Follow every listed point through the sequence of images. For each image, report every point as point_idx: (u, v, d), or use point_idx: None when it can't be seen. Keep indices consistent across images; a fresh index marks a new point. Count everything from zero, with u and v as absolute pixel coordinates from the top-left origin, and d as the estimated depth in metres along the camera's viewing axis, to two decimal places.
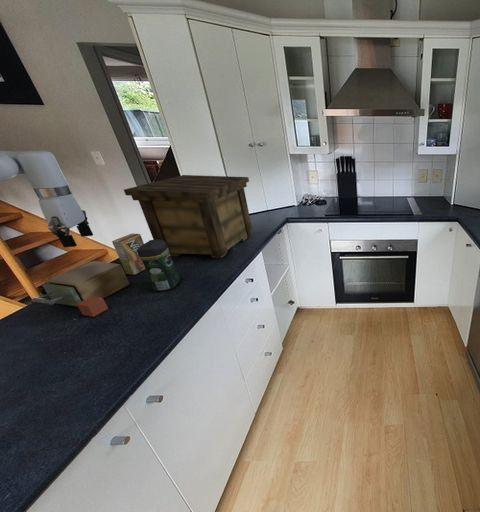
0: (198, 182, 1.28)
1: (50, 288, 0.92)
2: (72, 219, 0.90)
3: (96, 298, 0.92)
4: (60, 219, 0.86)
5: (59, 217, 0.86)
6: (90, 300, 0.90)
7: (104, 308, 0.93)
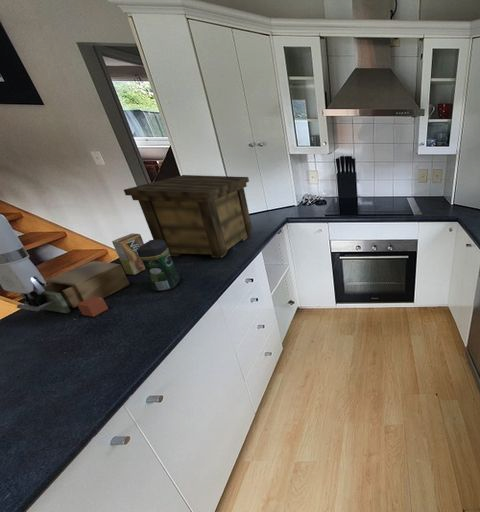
0: (198, 182, 1.28)
1: None
2: None
3: (96, 298, 0.92)
4: (39, 278, 0.83)
5: (38, 276, 0.83)
6: (90, 300, 0.90)
7: (104, 308, 0.93)
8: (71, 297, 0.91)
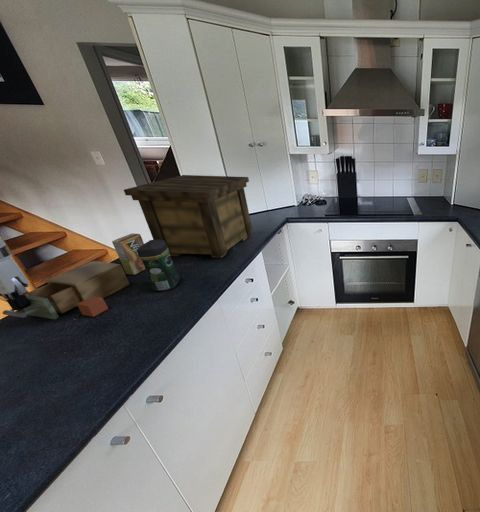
0: (198, 182, 1.28)
1: None
2: None
3: (96, 298, 0.92)
4: (21, 278, 0.80)
5: (20, 276, 0.79)
6: (90, 300, 0.90)
7: (104, 308, 0.93)
8: (59, 303, 0.88)
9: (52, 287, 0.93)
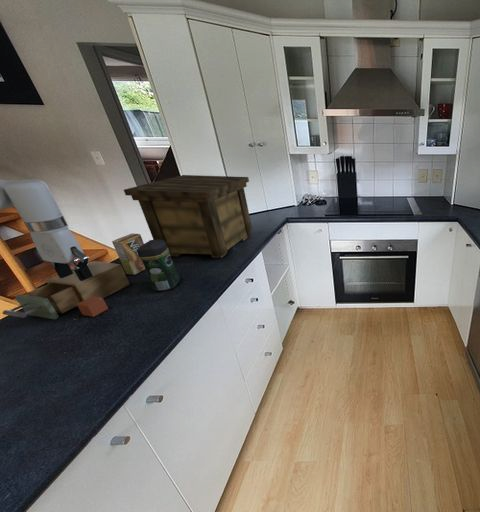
0: (198, 182, 1.28)
1: (22, 299, 0.86)
2: None
3: (96, 298, 0.92)
4: (78, 248, 0.82)
5: (77, 246, 0.82)
6: (90, 300, 0.90)
7: (104, 308, 0.93)
8: (59, 303, 0.88)
9: (52, 287, 0.93)
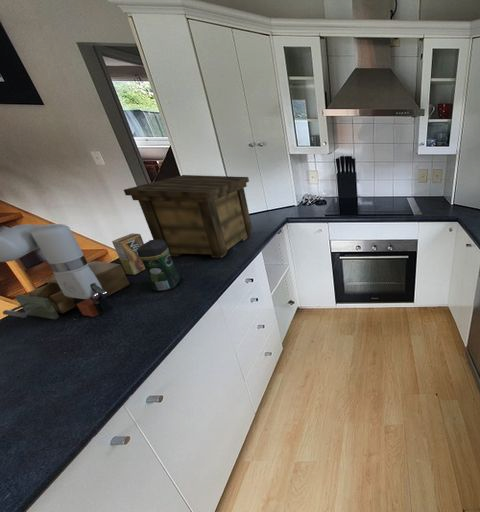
0: (198, 182, 1.28)
1: (23, 299, 0.86)
2: None
3: (96, 298, 0.92)
4: (97, 284, 0.88)
5: (96, 283, 0.88)
6: (90, 300, 0.90)
7: None
8: (60, 302, 0.88)
9: (52, 287, 0.93)
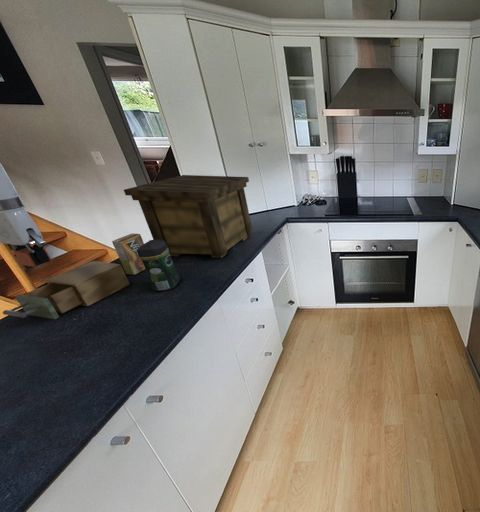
0: (198, 182, 1.28)
1: (23, 299, 0.86)
2: None
3: None
4: (35, 230, 0.80)
5: (34, 228, 0.80)
6: None
7: None
8: (60, 302, 0.88)
9: (52, 287, 0.93)
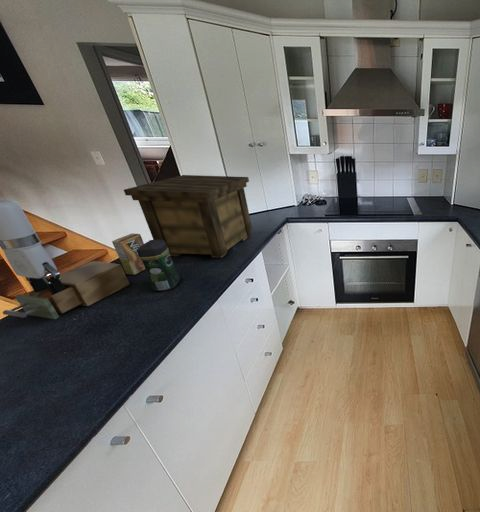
0: (198, 182, 1.28)
1: (23, 299, 0.86)
2: None
3: None
4: (50, 264, 0.85)
5: (49, 262, 0.85)
6: None
7: None
8: (60, 302, 0.88)
9: None
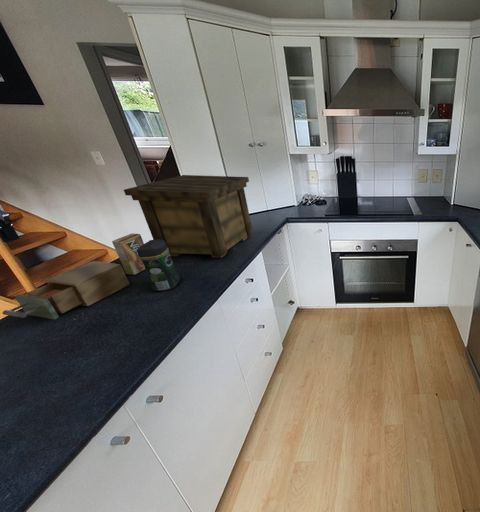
0: (198, 182, 1.28)
1: (22, 299, 0.86)
2: None
3: (58, 291, 0.91)
4: None
5: None
6: (52, 293, 0.90)
7: None
8: (59, 303, 0.88)
9: (52, 287, 0.93)
